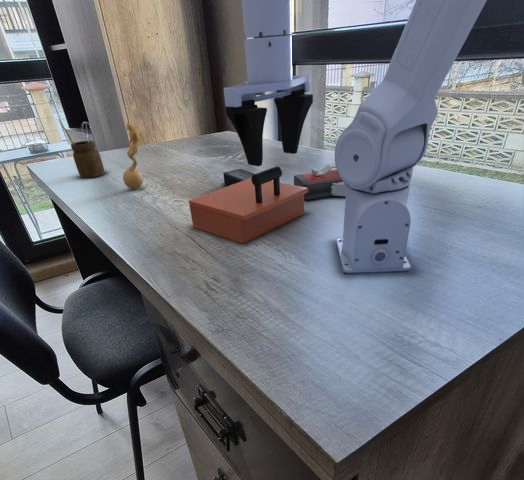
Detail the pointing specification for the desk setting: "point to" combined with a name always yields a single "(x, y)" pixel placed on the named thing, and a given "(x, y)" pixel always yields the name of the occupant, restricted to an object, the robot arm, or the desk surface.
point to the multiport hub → (236, 176)
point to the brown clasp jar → (86, 157)
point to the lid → (250, 195)
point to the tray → (246, 221)
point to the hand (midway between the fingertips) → (273, 158)
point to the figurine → (133, 158)
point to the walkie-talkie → (321, 183)
